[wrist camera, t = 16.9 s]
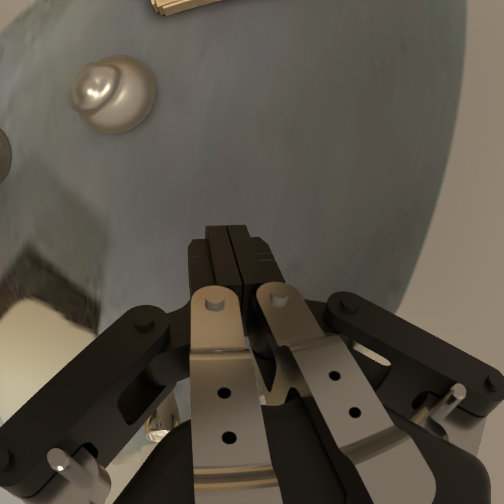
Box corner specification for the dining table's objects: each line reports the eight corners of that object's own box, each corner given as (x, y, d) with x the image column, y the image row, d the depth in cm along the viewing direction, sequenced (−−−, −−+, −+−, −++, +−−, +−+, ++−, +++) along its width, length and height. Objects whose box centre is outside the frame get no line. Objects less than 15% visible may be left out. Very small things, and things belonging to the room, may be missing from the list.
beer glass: (136, 372, 60) (136, 436, 48) (160, 360, 59) (164, 426, 47) (158, 386, 64) (162, 446, 52) (182, 375, 63) (189, 437, 51)
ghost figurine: (131, 38, 28) (114, 30, 20) (172, 97, 34) (169, 108, 26) (71, 84, 29) (39, 93, 21) (112, 140, 35) (93, 165, 27)
